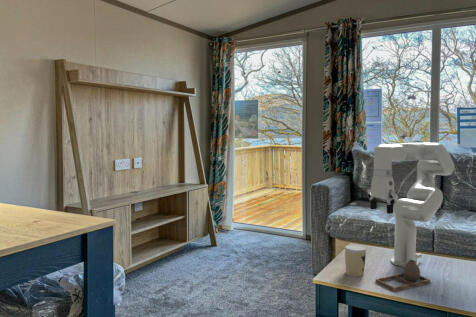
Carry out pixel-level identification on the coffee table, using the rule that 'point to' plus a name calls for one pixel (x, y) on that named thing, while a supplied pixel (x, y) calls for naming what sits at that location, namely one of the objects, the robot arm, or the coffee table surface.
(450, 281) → the coffee table surface
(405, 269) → the vase
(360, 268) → the coffee cup
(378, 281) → the frame
